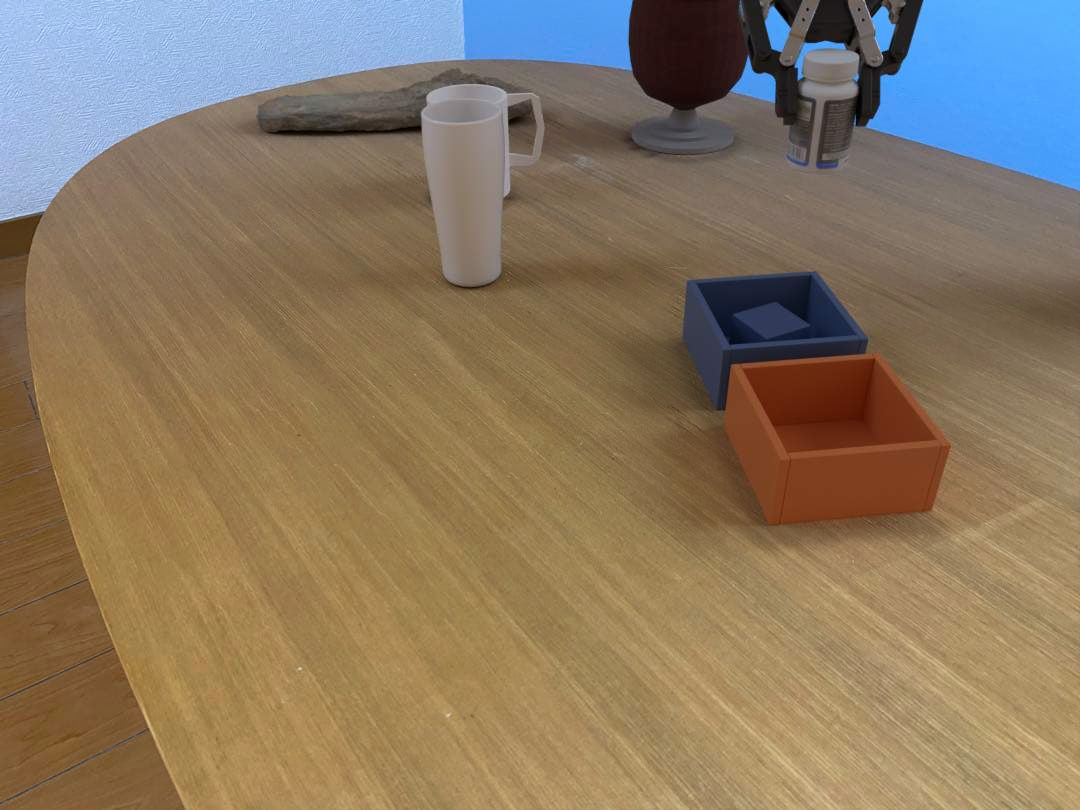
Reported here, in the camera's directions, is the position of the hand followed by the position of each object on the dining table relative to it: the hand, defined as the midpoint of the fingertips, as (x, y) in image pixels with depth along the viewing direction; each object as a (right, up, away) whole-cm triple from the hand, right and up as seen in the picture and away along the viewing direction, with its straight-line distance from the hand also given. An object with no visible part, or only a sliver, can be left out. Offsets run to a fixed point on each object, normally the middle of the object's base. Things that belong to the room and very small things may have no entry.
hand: (826, 120), depth 70 cm
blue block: (-5, -18, 0) cm, 19 cm away
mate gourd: (-4, +11, +44) cm, 45 cm away
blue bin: (-5, -19, +1) cm, 19 cm away
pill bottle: (0, -2, +4) cm, 5 cm away
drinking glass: (-28, -10, +15) cm, 33 cm away
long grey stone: (-40, +15, +50) cm, 65 cm away
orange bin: (-3, -26, -9) cm, 27 cm away
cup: (-27, +2, +31) cm, 41 cm away
